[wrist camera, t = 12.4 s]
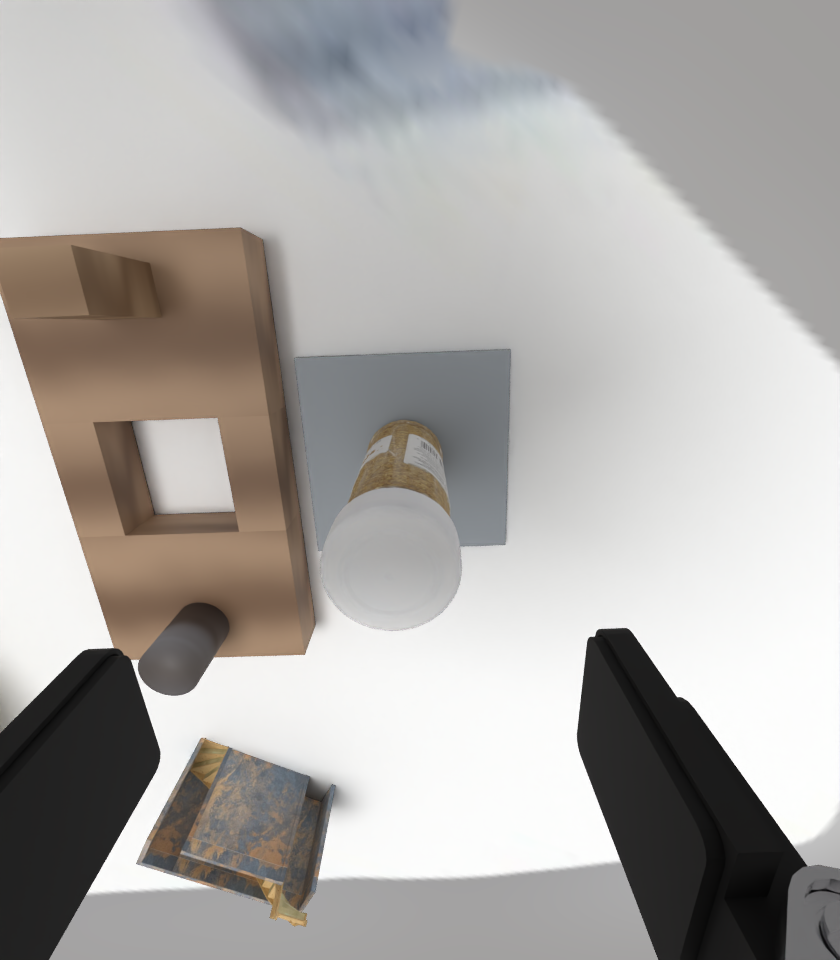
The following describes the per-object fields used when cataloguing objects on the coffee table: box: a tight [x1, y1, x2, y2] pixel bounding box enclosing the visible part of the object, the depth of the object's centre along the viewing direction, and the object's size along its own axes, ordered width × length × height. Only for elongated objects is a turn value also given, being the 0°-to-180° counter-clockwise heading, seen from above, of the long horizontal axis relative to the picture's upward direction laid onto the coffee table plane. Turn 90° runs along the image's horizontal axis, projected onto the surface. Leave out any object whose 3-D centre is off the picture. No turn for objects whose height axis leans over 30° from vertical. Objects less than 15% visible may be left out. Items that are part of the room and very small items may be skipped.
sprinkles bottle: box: [320, 420, 462, 631], centre depth 20 cm, size 5×5×14 cm
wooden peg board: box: [0, 228, 315, 696], centre depth 23 cm, size 24×12×8 cm, turn 2°
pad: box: [294, 349, 511, 551], centre depth 27 cm, size 12×12×1 cm
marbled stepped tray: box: [136, 738, 335, 926], centre depth 32 cm, size 11×3×10 cm, turn 63°
